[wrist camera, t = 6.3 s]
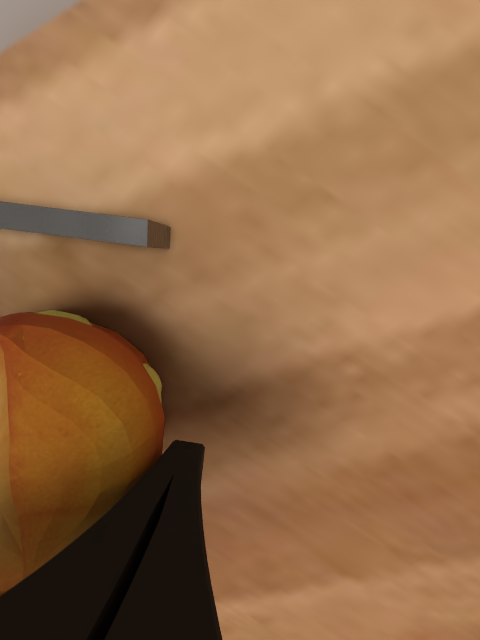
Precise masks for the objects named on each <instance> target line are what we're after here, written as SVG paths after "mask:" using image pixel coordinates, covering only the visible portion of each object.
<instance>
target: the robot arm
mask: <svg viewBox="0 0 480 640" xmlns="http://www.w3.org/2000/svg"><path fill="white" fill-rule="evenodd" d="M204 450H205V447H204V446H203V444H198V443H192V442H186V441H179V440H175V441H173V442H172V443H171V445H170V446H169V447H168V449H167V450H166V451H165V452H164V453H163V455H162V456H161V457H160V458H159V459H158V460H157V462H156V463H155V464H154V465H153V466H152V467H151V468H150V469H149V470H148V471H147V473H146V474H145V475H144V476H143V477H142V478H141V479H140V480H139V481H138V482H137V483H136V484H135V485H134V486H133V487H132V488H131V489H130V490H129V491H128V492H127V493H126V494H125V495H124V496H123V497H122V498H121V499H120V500H119V501H118V502H117V503H116V504H115V505H114V506H113V507H112V508H111V509H110V510H109V511H107V512H106V513H105V514H104V515H103V516H102V517H101V518H100V519H99V520H98V521H96V522H95V523H94V524H93V525H92V526H91V527H89V528H88V529H87V530H86V531H85V532H84V533H82V534H81V535H80V536H79V537H78V538H76V539H75V540H74V541H73V542H71V543H70V544H69V545H68V546H67V547H65V548H64V549H63V550H62V551H60V552H59V553H58V554H57V555H55V556H54V557H53V558H51V559H50V560H49V561H48V562H46V563H45V564H44V565H42V566H41V567H40V568H38V569H37V570H36V571H34V572H33V573H32V574H30V575H29V576H27V577H26V578H25V579H23V580H22V581H20V582H19V583H18V584H16V585H15V586H14V587H12V588H11V589H9V590H8V591H7V592H5V593H4V594H2V595H1V596H0V640H222V636H221V631H220V626H219V621H218V616H217V611H216V606H215V601H214V596H213V591H212V586H211V580H210V574H209V568H208V562H207V554H206V547H205V540H204V531H203V520H202V508H201V478H202V469H203V460H204Z"/></svg>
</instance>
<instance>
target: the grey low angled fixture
mask: <svg viewBox="0 0 480 640" xmlns="http://www.w3.org/2000/svg"><path fill="white" fill-rule="evenodd" d="M0 228H3V229H11V230H18V231H26V232H34V233H42V234H50V235H58V236H66V237H73V238H81V239H89V240H97V241H105V242H113V243H121V244H129V245H136V246H144V247H154V248H166V249H169V243H170V227H168V226H165V225H162V224H159V223H156V222H153V221H150V220H146V219H138V218H130V217H122V216H113V215H105V214H97V213H89V212H81V211H73V210H65V209H56V208H48V207H40V206H32V205H24V204H16V203H8V202H0Z"/></svg>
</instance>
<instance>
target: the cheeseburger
mask: <svg viewBox="0 0 480 640" xmlns="http://www.w3.org/2000/svg"><path fill="white" fill-rule="evenodd" d="M161 389H162V384H161V381H160V378H159V376H158V374H157V373H156V372H155V370H154V369H153V368H151V367H150V365H149V363H148V362H147V360H146V358H145V356H144V355H143V354H142V353H141V352H140V351H139V350H138V349H137V348H135V347H134V346H133V345H132V344H131V343H129V342H128V341H127V340H126V339H125V338H123V337H122V336H121V335H120V334H119V333H117V332H115V331H112V330H110V329H107V328H104V327H102V326H99V325H96V324H94V323H91V322H89V321H88V320H87V319H86V318H82V317H81V316H79V315H75V314H71V313H66V312H61V311H55V310H48V311H43V312H38V313H33V312H26V313H16V314H10V315H7V316H4V317H0V596H1V595H2V594H4V593H5V592H7V591H8V590H9V589H11V588H12V587H14V586H15V585H16V584H18V583H19V582H20V581H22V580H23V579H25V578H26V577H27V576H29V575H30V574H32V573H33V572H34V571H36V570H37V569H38V568H40V567H41V566H42V565H44V564H45V563H46V562H48V561H49V560H50V559H51V558H53V557H54V556H55V555H57V554H58V553H59V552H60V551H62V550H63V549H64V548H65V547H67V546H68V545H69V544H70V543H71V542H73V541H74V540H75V539H76V538H78V537H79V536H80V535H81V534H82V533H84V532H85V531H86V530H87V529H88V528H89V527H91V526H92V525H93V524H94V523H95V522H96V521H98V520H99V519H100V518H101V517H102V516H103V515H104V514H105V513H106V512H107V511H109V510H110V509H111V508H112V507H113V506H114V505H115V504H116V503H117V502H118V501H119V500H120V499H121V498H122V497H123V496H124V495H125V494H126V493H127V492H128V491H129V490H130V489H131V488H132V487H133V486H134V485H135V484H136V483H137V482H138V481H139V480H140V479H141V478H142V477H143V476H144V475H145V474H146V473H147V471H148V470H149V469H150V468H151V467H152V466H153V465H154V464H155V463H156V462H157V460H158V459H159V458H160V457H161V456H162V455H163V454H162V447H163V435H164V423H165V416H164V412H163V406H162V399H161Z"/></svg>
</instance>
